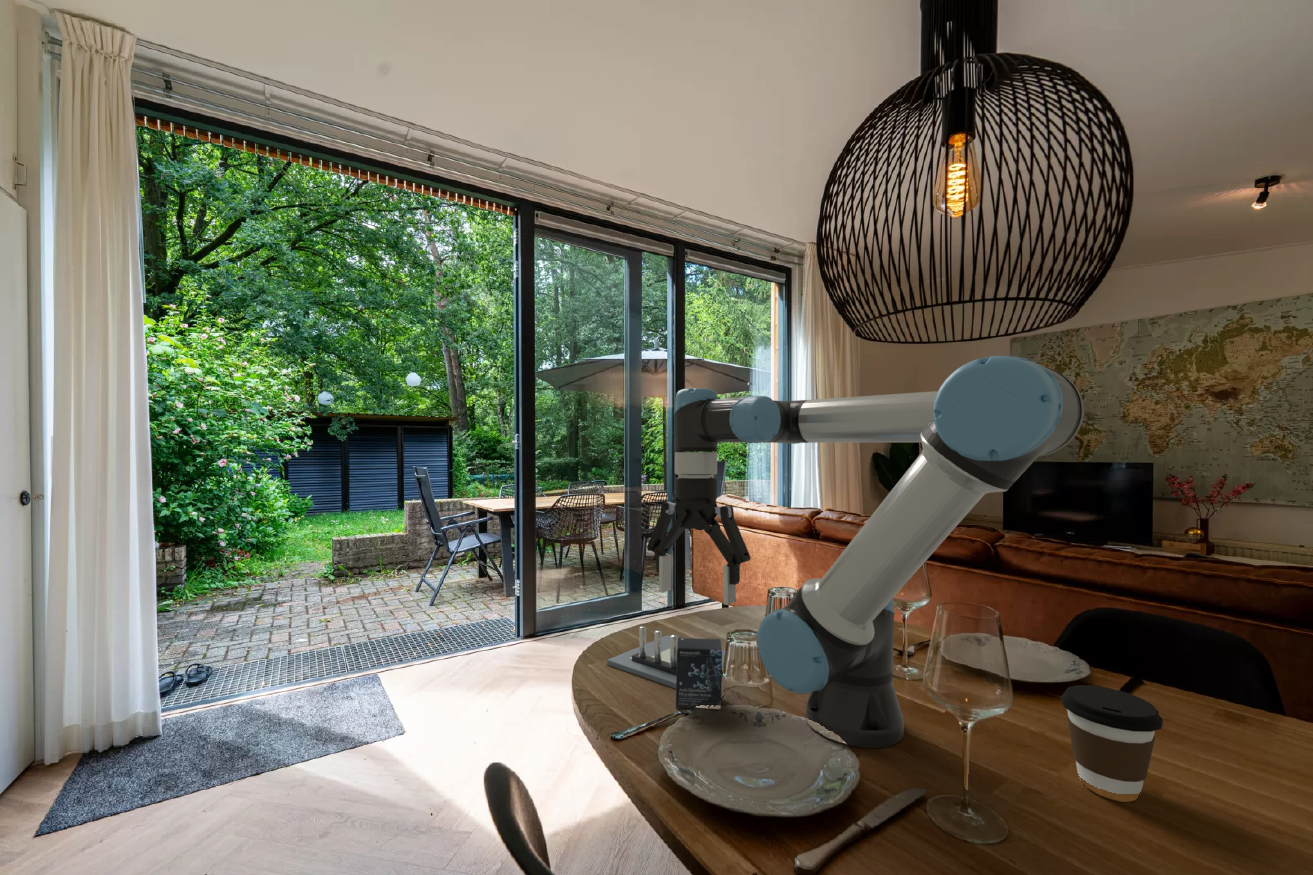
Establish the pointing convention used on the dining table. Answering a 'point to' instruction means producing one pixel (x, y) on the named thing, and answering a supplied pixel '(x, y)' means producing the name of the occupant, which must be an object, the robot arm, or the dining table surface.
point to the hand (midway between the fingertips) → (696, 597)
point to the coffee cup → (1111, 736)
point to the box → (698, 672)
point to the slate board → (643, 670)
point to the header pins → (657, 652)
